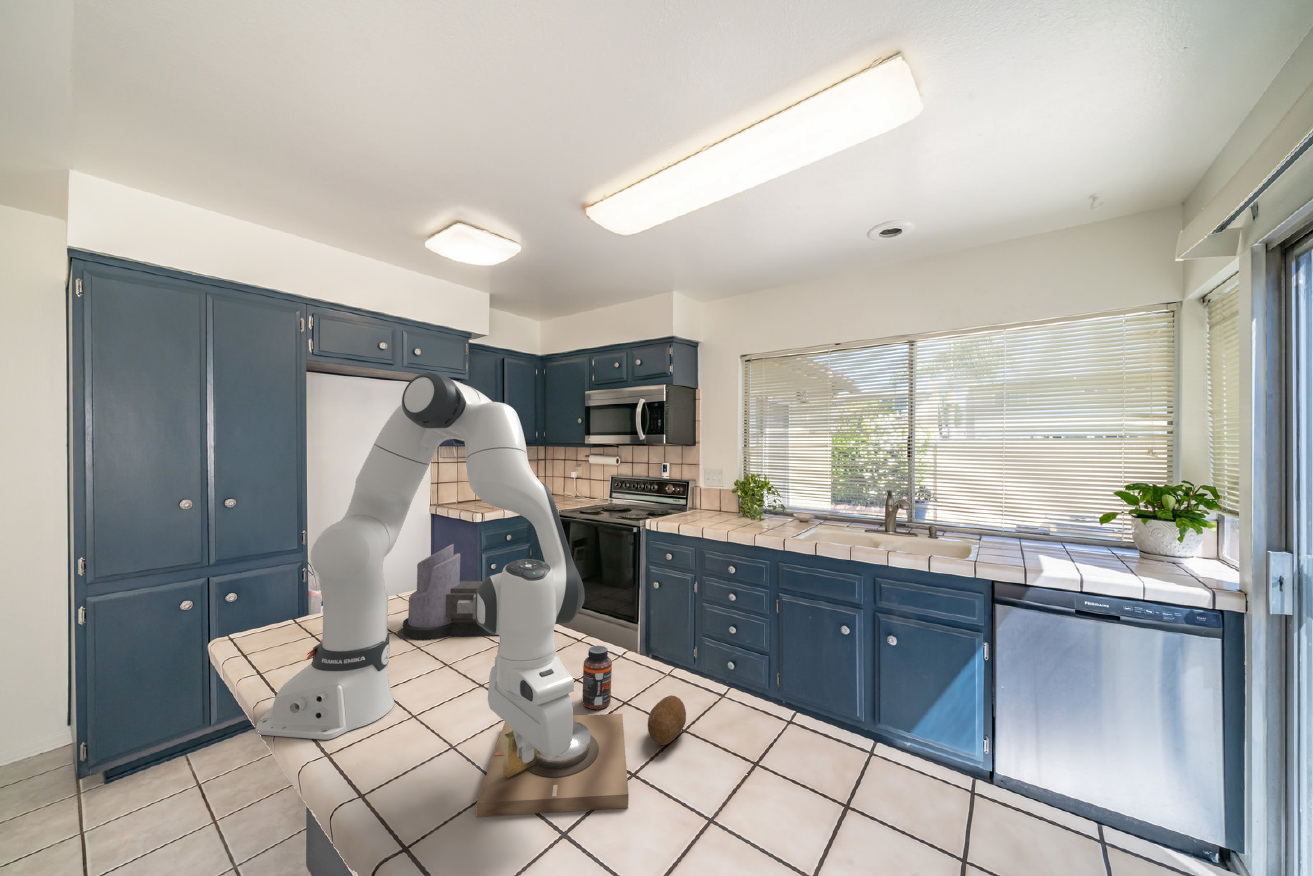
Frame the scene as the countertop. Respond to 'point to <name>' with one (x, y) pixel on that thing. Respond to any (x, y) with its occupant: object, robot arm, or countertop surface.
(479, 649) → the countertop surface
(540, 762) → the grey round gold-handled piece
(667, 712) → the potato
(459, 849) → the countertop surface
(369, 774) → the countertop surface
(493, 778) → the panel
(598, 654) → the supplement bottle
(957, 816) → the countertop surface
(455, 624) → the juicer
